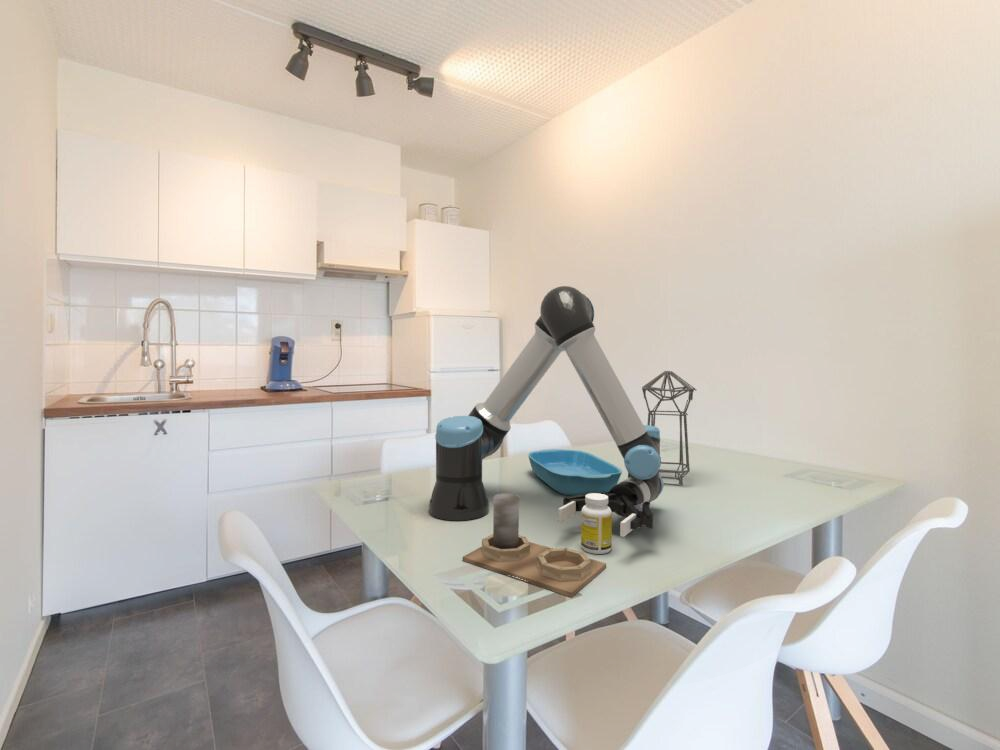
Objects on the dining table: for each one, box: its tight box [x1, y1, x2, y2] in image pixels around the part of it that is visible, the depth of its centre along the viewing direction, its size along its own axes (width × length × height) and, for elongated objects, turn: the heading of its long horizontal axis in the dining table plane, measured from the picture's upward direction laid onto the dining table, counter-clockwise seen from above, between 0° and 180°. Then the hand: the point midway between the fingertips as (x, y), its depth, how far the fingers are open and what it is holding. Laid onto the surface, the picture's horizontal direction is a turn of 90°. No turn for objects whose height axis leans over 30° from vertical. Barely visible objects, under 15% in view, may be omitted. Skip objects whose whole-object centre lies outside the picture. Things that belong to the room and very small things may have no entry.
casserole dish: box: [527, 448, 623, 496], centre depth 152 cm, size 37×22×7 cm, turn 15°
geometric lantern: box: [641, 370, 697, 486], centre depth 154 cm, size 16×16×35 cm
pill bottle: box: [580, 493, 613, 555], centre depth 101 cm, size 6×6×11 cm
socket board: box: [462, 492, 607, 598], centre depth 93 cm, size 24×14×12 cm, turn 54°
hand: (589, 522), depth 98 cm, fingers open, 13 cm apart
